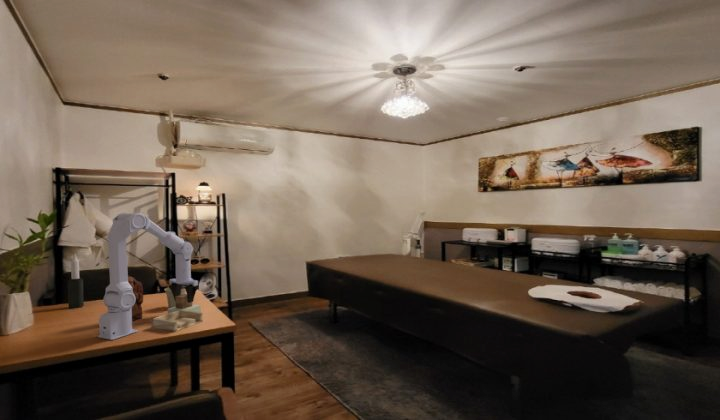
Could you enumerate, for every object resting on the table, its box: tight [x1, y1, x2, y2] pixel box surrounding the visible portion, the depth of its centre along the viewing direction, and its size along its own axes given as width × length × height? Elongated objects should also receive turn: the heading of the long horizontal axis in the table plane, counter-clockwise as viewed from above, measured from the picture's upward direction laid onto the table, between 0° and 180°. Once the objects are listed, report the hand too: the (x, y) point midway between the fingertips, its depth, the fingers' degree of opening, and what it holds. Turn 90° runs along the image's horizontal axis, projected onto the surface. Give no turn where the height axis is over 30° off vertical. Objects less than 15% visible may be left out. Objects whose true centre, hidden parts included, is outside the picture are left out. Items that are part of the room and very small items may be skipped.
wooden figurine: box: [128, 275, 144, 322], centre depth 150 cm, size 12×6×18 cm, turn 140°
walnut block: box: [175, 293, 193, 309], centre depth 157 cm, size 5×4×5 cm
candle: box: [67, 253, 85, 310], centre depth 172 cm, size 5×5×25 cm
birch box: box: [150, 310, 203, 333], centre depth 143 cm, size 13×12×4 cm
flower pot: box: [163, 285, 187, 309], centre depth 169 cm, size 9×9×9 cm
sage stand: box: [167, 303, 202, 314], centre depth 157 cm, size 9×9×3 cm
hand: (184, 301), depth 157 cm, fingers open, 7 cm apart
